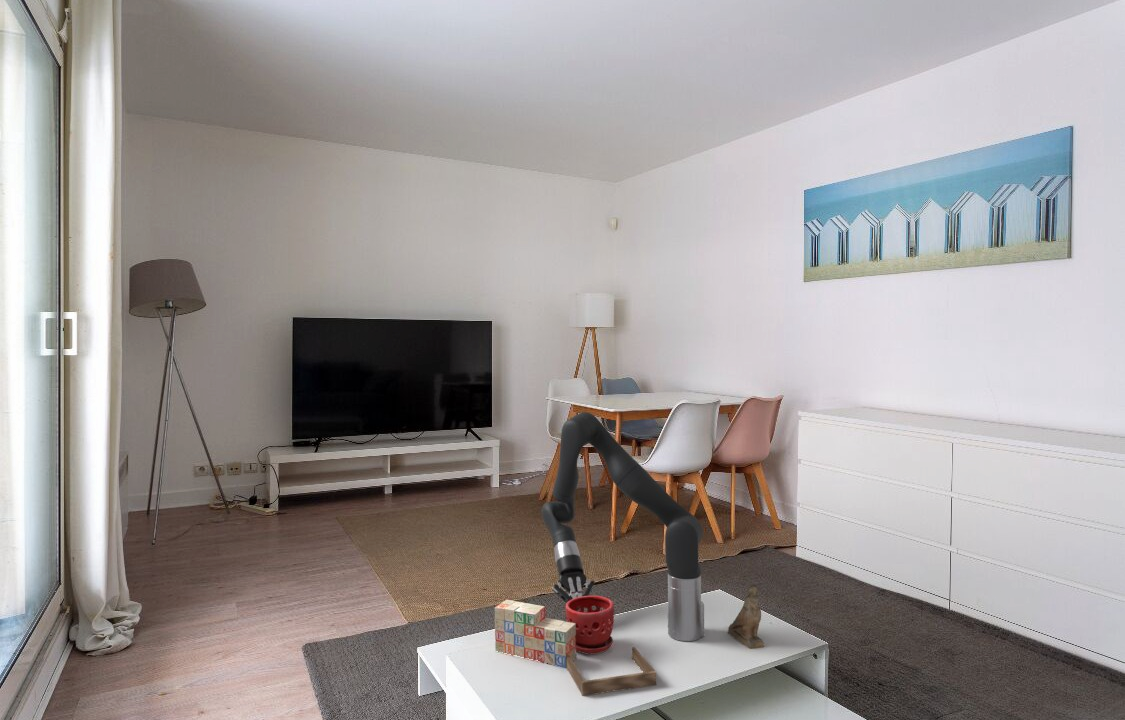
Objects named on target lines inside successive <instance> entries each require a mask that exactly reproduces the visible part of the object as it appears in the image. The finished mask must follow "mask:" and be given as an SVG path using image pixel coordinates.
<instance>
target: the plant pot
mask: <svg viewBox="0 0 1125 720" xmlns="http://www.w3.org/2000/svg"><path fill="white" fill-rule="evenodd" d="M593 606H594V607H595V609H593V608H592V607H593ZM577 607H580V609H579V611H577V610H576V608H577ZM601 608H603V610H601ZM583 609H584V611H583ZM585 609H587V610H586V611H585ZM565 619H566V622H570V623H575V624H576V635H575V639H576V647H575V651H577V652H579V653H583V654H587V655H594V654H601V653H603V652H606V651H608V650H609V649H610V648H612V647H613V643H614V637H612V636H611V635H612V632H613V628H614V623H615V606H614V602H613V600H611V599H609V597H606V596H605V597H604V596H600V595H588V596H582V597H577V598H574V599H572V600H570V601H568V602H567V603H565Z"/></svg>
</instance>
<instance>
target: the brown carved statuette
mask: <svg viewBox="0 0 1125 720" xmlns="http://www.w3.org/2000/svg"><path fill="white" fill-rule="evenodd" d="M758 589H759V587H758V586H757V585H750V587H748V589H747V592H748V595H747V596H745V600H744V603H743V606H742V607H741V609H740V611H739V613H738V614H737V616H736V617H735V618H734V620H733V621H732V623H730V625H729V626H728V629H727V633H728V634H729V635H730V636H731V637H732V638H734V639H735V640H736V641H738V643H739V642H740V643H741V644H742V645H744V646H746V647H747V648H748V649H751V650H753V649H757V648H763V647H765V645H764V641H763V639H762V638H760V637H758V631H759V626H760V623H761V620H762V610H761V608H760V606H759V602H760V597H759V595H758Z"/></svg>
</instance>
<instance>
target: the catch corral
mask: <svg viewBox="0 0 1125 720" xmlns="http://www.w3.org/2000/svg"><path fill="white" fill-rule="evenodd" d="M631 659H632V660H633V661H635V662H634V663H635V664H636V666H637V667H638V666H639V667H640V668H639V667H638V668H639V669H640V671H643V672H638V673H632V674H631V673H630V674H624V675H617V676H610V677H602V678H596V679H595V678H594V679H588V680H585V679H584V677H583V675H582V673H581V672H580V671H579V669H578V667H577V666H576V664H575V663H574V660H573V661H572V659H571V657H570V656H569V655H568V656H566V668H565V669H566V670H567V671H568V673H569V675H570V677H571V678H572V680H573V682H574V683H575V685H576V687H577V689H578V690H579V692H580V693H581V696H582V697H583V696H584V697H585V696H590V695H595V694H596V693H598V694H602V692H604V693H608V692H607V691H611V692H614V691H613V690H618V691H623V690H622V689H625V690H630V689H629V688H631V689H638V688H643V687H650V686H657V671H656V670H655V669H654V668H653V666H652V665H651V664H650V663H649V662H648V661H647V659H646V658H645V657H644V656H643V654H641V652H640V651H639V650H638V649H637V647H636V646H632V647H631ZM637 687H638V688H637Z"/></svg>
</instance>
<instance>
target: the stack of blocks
mask: <svg viewBox="0 0 1125 720" xmlns="http://www.w3.org/2000/svg"><path fill="white" fill-rule="evenodd" d="M494 635H495V637H494V638H495V639H494V640H495V641H494V646H495V652H496V651H498V652H497V653H499V652H503V653H502V654H504V653H507V654H511V655H517V656H520V657H524V658H523V659H525V658H529V659H533V660H532V661H534V660H538V661H541V662H540V663H543V662H545V663H544V664H547V663H548V664H547V665H551V664H552V666H555V665H556V667H559V666H560V667H561V668H565V669H567V668H566V656H568V655H569V656H570V657H571V659H572V661H573V662H574V660H576V654H577V653H576V651H577V650H575V647H576V639H575V635H576V624H575V623H570V622H567V621H565V620H560V619H554V618H550V617H546V606H544V605H539V604H533V603H527V602H522V601H515V600H510V599H505V600H504V601H502V602H500V603H499V604H498V605H496V606H495V607H494ZM507 654H506V655H507ZM511 655H510V656H511ZM529 659H528V660H529ZM538 661H537V662H538Z"/></svg>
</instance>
